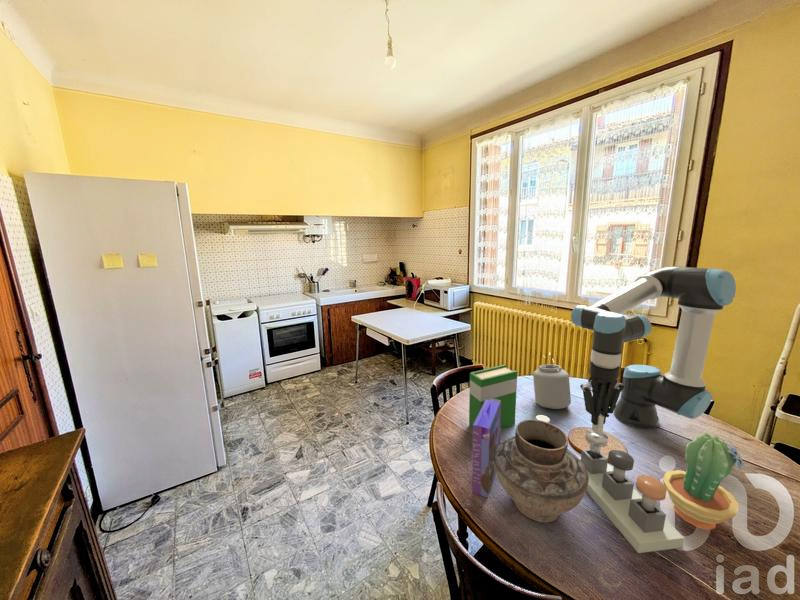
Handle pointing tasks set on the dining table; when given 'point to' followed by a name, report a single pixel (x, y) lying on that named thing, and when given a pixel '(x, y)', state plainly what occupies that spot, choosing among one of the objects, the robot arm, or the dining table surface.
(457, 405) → the dining table surface
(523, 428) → the ceramic pot
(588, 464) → the console
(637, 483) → the terracotta plunger
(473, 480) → the cereal box
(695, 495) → the potted cactus
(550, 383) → the jar
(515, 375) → the hardback book
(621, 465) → the middle plunger
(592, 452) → the plunger
